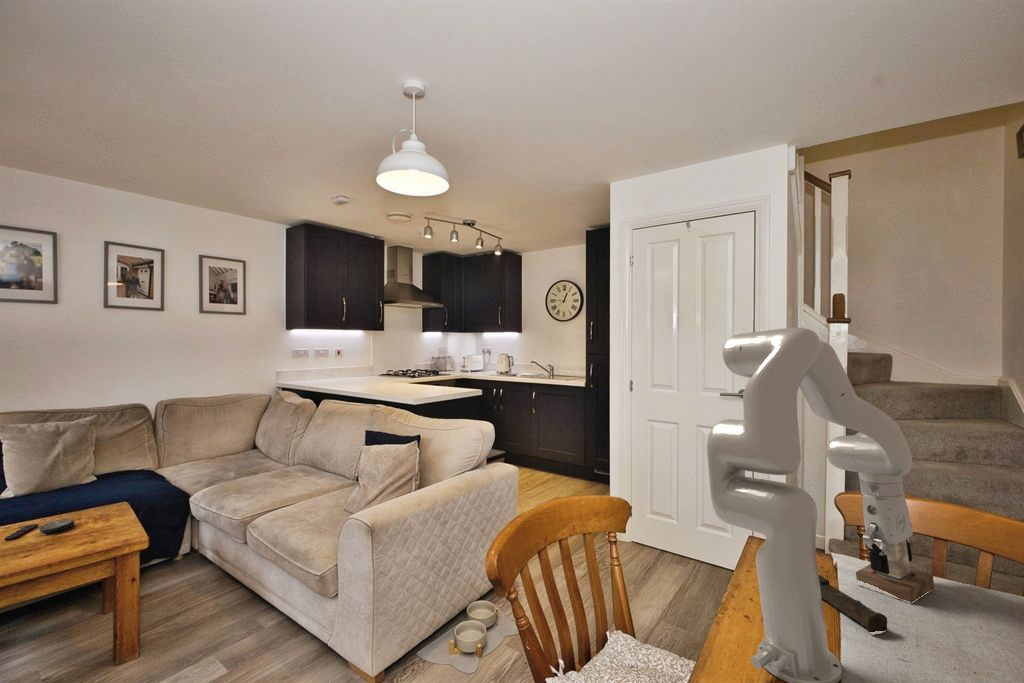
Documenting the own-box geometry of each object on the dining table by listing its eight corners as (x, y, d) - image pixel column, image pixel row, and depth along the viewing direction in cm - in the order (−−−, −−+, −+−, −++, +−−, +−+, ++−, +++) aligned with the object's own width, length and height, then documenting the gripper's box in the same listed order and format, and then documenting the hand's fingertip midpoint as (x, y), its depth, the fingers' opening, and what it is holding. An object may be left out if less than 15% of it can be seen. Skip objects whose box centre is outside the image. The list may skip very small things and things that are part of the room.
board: (911, 604, 94) (909, 589, 94) (857, 585, 103) (855, 571, 103) (934, 589, 98) (932, 575, 98) (880, 572, 107) (879, 559, 107)
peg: (902, 595, 97) (894, 538, 98) (877, 586, 101) (870, 532, 102) (913, 588, 99) (905, 533, 100) (888, 580, 103) (880, 527, 104)
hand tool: (891, 635, 85) (887, 610, 86) (871, 638, 85) (867, 612, 85) (818, 586, 104) (815, 566, 104) (801, 589, 104) (799, 568, 104)
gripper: (880, 499, 94) (892, 583, 93) (921, 482, 102) (932, 560, 101) (841, 492, 101) (851, 570, 100) (882, 476, 109) (892, 549, 108)
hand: (892, 565), depth 101 cm, fingers open, 9 cm apart
